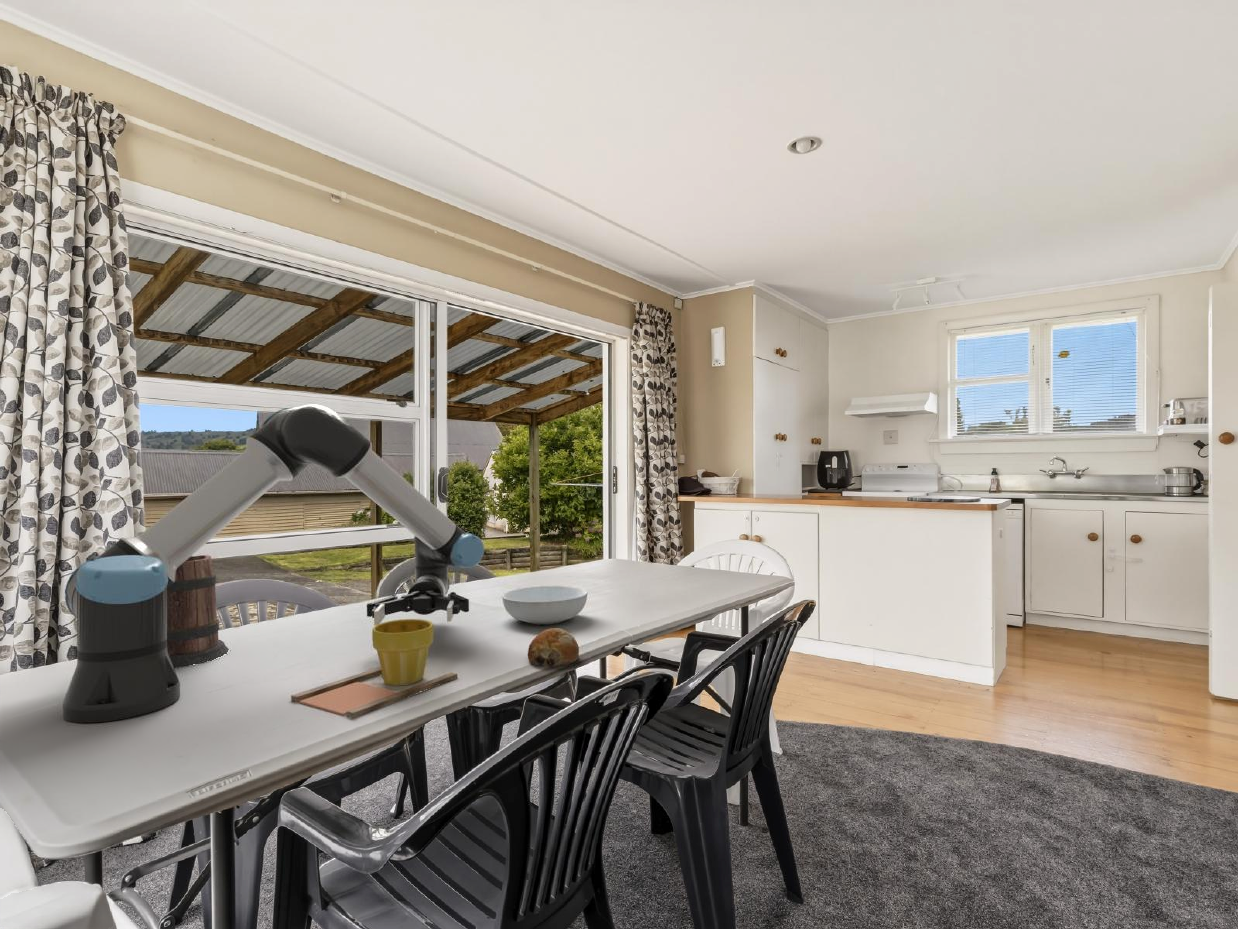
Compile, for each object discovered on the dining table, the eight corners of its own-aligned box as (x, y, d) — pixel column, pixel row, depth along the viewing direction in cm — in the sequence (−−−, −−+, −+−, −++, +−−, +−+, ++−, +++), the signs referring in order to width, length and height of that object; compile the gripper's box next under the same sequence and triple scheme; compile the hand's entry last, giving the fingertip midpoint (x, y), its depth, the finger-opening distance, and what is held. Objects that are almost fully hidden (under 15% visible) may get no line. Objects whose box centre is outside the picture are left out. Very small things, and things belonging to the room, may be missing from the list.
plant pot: (407, 692, 113) (406, 634, 113) (359, 685, 117) (359, 629, 117) (445, 674, 123) (445, 621, 123) (400, 668, 127) (400, 616, 127)
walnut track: (353, 718, 102) (352, 713, 102) (291, 700, 110) (291, 695, 110) (457, 678, 121) (457, 673, 121) (398, 665, 129) (398, 661, 129)
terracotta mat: (343, 715, 103) (343, 713, 103) (299, 702, 108) (299, 701, 108) (400, 694, 112) (400, 692, 112) (357, 683, 118) (357, 681, 118)
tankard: (242, 655, 136) (242, 557, 136) (143, 675, 124) (142, 567, 124) (205, 636, 152) (205, 548, 152) (114, 652, 139) (113, 555, 139)
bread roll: (582, 680, 131) (595, 639, 133) (546, 668, 124) (560, 626, 126) (549, 669, 137) (561, 631, 140) (513, 658, 130) (526, 618, 133)
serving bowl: (542, 608, 180) (542, 582, 180) (604, 618, 168) (604, 590, 168) (484, 623, 163) (484, 594, 163) (548, 635, 151) (548, 605, 151)
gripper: (483, 608, 153) (478, 632, 132) (369, 614, 149) (345, 639, 128) (482, 575, 153) (478, 594, 132) (368, 580, 149) (344, 600, 128)
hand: (412, 616), depth 130 cm, fingers open, 13 cm apart
